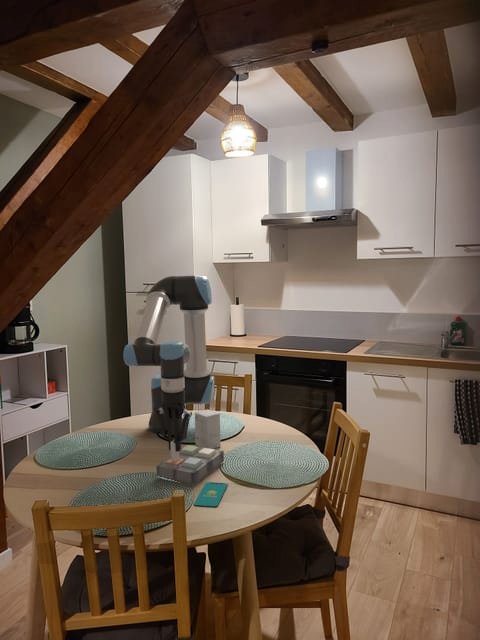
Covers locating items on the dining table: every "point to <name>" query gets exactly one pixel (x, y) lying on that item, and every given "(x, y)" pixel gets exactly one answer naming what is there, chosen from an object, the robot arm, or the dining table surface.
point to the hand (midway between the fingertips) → (175, 460)
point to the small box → (207, 429)
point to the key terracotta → (175, 462)
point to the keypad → (189, 474)
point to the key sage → (190, 450)
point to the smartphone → (211, 495)
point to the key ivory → (206, 453)
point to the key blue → (192, 463)
